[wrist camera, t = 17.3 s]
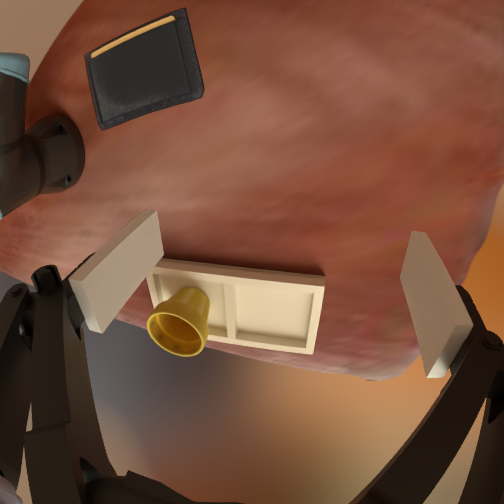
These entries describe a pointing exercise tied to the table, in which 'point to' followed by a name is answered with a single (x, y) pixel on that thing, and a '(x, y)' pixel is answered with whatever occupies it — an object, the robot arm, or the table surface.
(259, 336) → the divided tray
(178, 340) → the plant pot
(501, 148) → the table surface
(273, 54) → the table surface
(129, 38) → the wallet
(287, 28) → the table surface
